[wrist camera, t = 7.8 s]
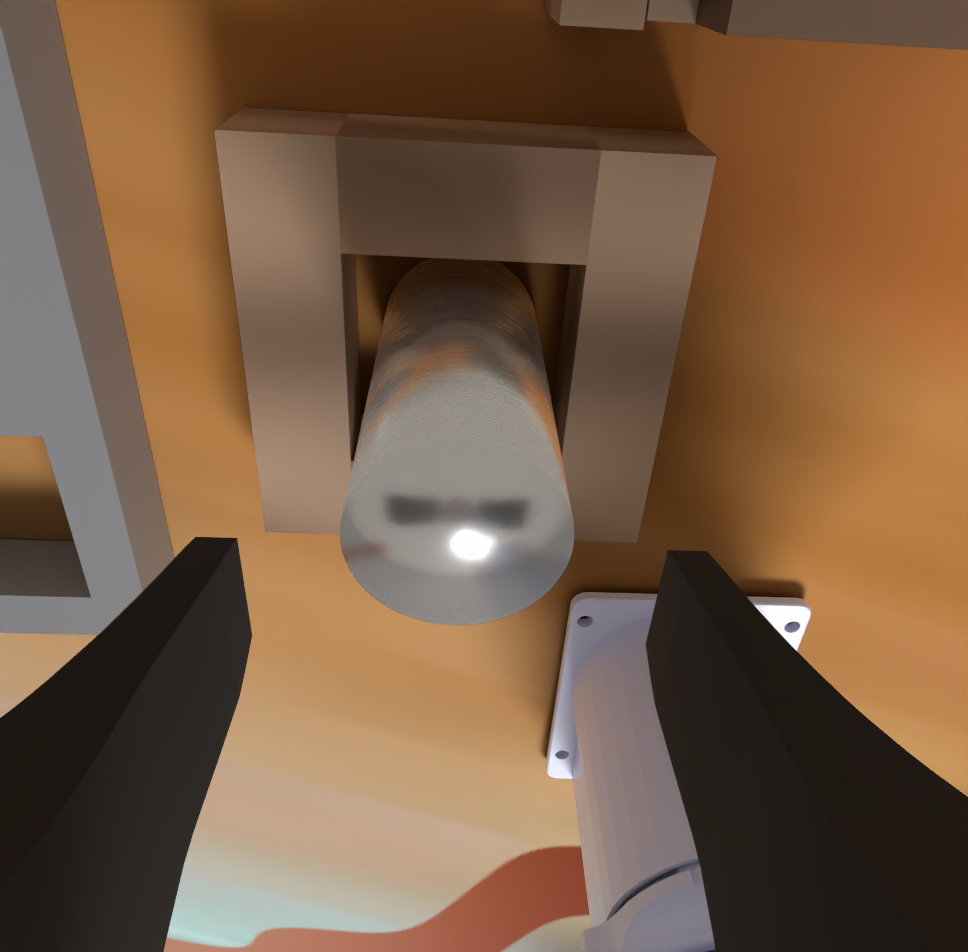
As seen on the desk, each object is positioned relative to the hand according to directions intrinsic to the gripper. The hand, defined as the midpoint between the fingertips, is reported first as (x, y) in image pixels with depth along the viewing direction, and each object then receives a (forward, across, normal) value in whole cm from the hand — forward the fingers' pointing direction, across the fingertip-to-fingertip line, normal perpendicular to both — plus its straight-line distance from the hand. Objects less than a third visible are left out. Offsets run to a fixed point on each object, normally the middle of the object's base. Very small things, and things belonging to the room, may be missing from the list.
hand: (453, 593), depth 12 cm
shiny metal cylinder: (+10, 0, 0) cm, 10 cm away
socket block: (+10, 0, 0) cm, 10 cm away
